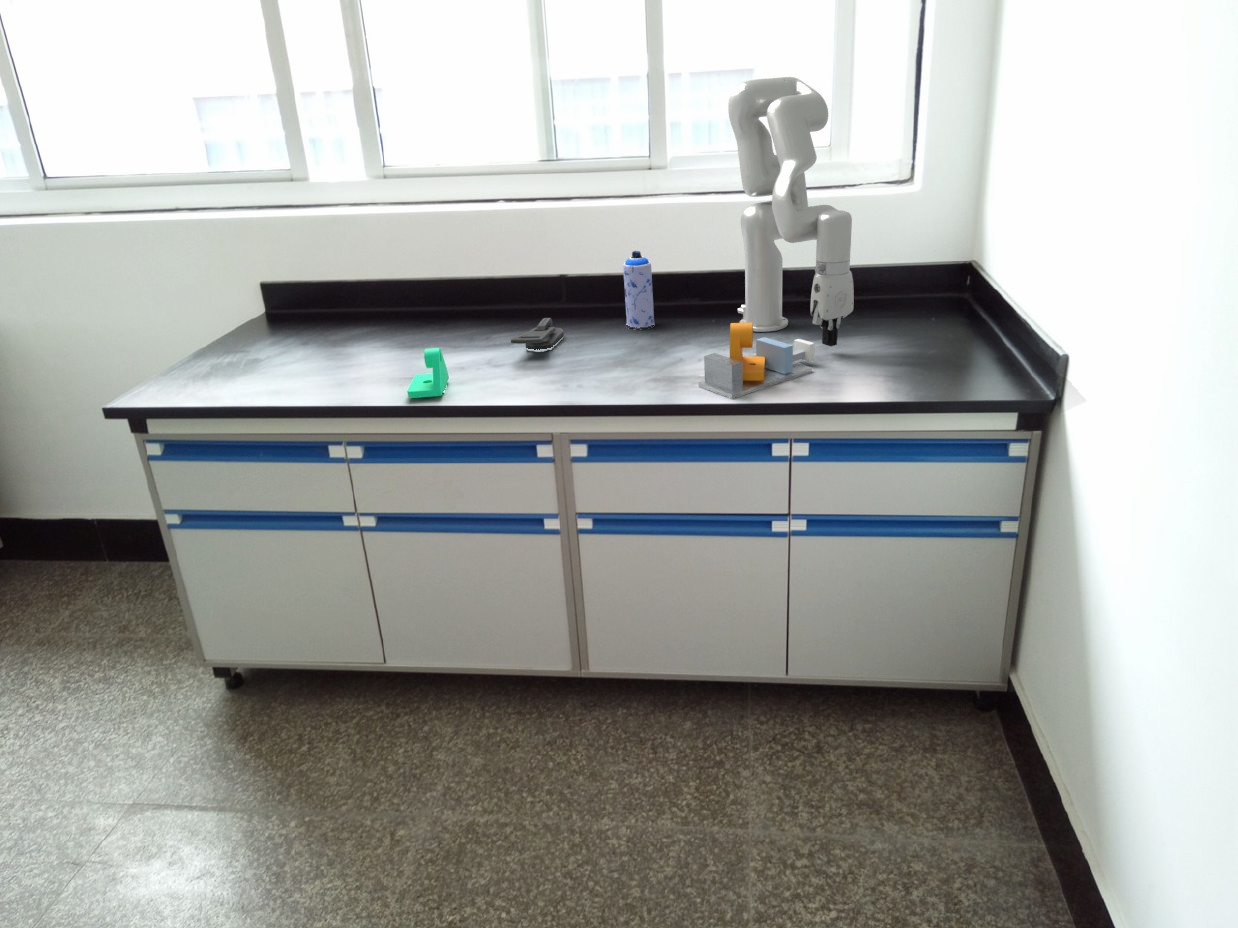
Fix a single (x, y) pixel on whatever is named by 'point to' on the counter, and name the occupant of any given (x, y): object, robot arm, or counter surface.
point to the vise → (741, 376)
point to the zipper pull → (540, 336)
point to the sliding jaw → (783, 353)
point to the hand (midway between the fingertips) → (829, 344)
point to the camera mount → (430, 376)
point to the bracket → (742, 339)
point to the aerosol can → (638, 291)
